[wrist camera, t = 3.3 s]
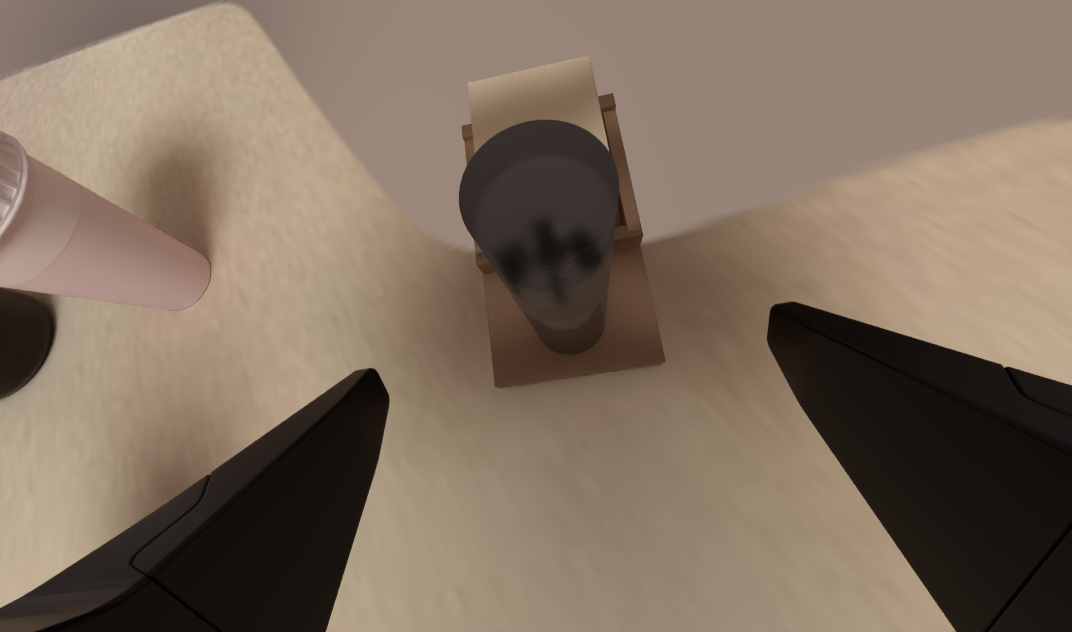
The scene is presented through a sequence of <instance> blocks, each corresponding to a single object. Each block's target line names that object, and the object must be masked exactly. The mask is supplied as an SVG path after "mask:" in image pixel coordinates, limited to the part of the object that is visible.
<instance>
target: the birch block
mask: <svg viewBox="0 0 1072 632" xmlns="http://www.w3.org/2000/svg"><path fill="white" fill-rule="evenodd" d="M467 84H468V93H469V103H470V113H471V122H472V132H473V141H474V151H475V153H476V152H477V150H478V149H479V148H480V147H481V146H482V145H483V144H484V143H485V142H487V141H488V140H489V139H490V138H491V137H493V136H494V135H496V134H497V133H499V132H501V131H503V130H505V129H507V128H509V127H511V126H514V125H516V124H519V123H523V122H527V121H533V120H546V119H547V120H559V121H564V122H568V123H571V124H575V125H577V126H579V127H581V128H584V129H585V130H587V131H589V132H590V133H592V134H593V135H594V136H596V137H597V138H598V139H599V140H600V141H601V142H602V143H603V144H604V145H605V146H606V148H607V149H608V151H609V148H608V143H607V138H606V133H605V129H604V124H603V119H602V114H601V109H600V105H599V100H598V95H597V90H596V86H595V81H594V76H593V71H592V67H591V62H590V57H589V55H587V56H583V57H578V58H574V59H570V60H565V61H561V62H556V63H552V64H548V65H544V66H539V67H534V68H530V69H526V70H521V71H517V72H513V73H508V74H504V75H500V76H495V77H491V78H486V79H482V80H477V81H473V82H469V83H467Z"/></svg>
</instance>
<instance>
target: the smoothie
mask: <svg viewBox="0 0 1072 632" xmlns="http://www.w3.org/2000/svg"><path fill="white" fill-rule="evenodd" d="M210 274H211V271H210V265H209V262H208V260H207V259H206V258H205V257H204V256H203V255H202V254H200V253H199V252H197V251H195V250H193V249H192V248H190V247H188V246H186V245H185V244H183V243H181V242H179V241H178V240H176V239H174V238H172V237H171V236H169V235H167V234H165V233H164V232H162V231H160V230H159V229H157V228H155V227H153V226H152V225H150V224H148V223H146V222H145V221H143V220H141V219H139V218H138V217H136V216H134V215H132V214H131V213H129V212H127V211H125V210H124V209H122V208H120V207H118V206H117V205H115V204H113V203H111V202H110V201H108V200H106V199H104V198H103V197H101V196H99V195H98V194H96V193H94V192H92V191H91V190H89V189H87V188H85V187H84V186H82V185H80V184H78V183H77V182H75V181H73V180H71V179H70V178H68V177H67V176H65V175H63V174H61V173H60V172H58V171H56V170H54V169H52V168H51V167H49V166H47V165H45V164H44V163H42V162H40V161H38V160H36V159H35V158H33V157H31V156H29V155H27V154H26V151H25V149H24V148H23V147H22V145H21V144H20V143H19V142H18V141H17V139H16V138H14V137H12V136H10V135H8V134H6V133H4V132H2V131H0V287H4V288H11V289H18V290H25V291H33V292H40V293H47V294H54V295H62V296H69V297H76V298H83V299H91V300H98V301H105V302H112V303H120V304H127V305H134V306H141V307H149V308H156V309H163V310H170V311H178V310H182V309H185V308H187V307H189V306H191V305H192V304H194V303H195V302H196V301H197V300H198V299H199V298H200V297H201V296H202V295H203V293H204V292H205V290H206V288H207V286H208V283H209V280H210Z"/></svg>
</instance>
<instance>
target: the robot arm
mask: <svg viewBox="0 0 1072 632" xmlns="http://www.w3.org/2000/svg"><path fill="white" fill-rule="evenodd" d="M767 342H768V345H769V348H770V350H771V352H772V354H773V356H774V357H775V359H776V361H777V363H778V365H779V367H780V369H781V371H782V373H783V374H784V376H785V378H786V380H787V382H788V384H789V386H790V388H791V390H792V392H793V393H794V395H795V397H796V399H797V401H798V402H799V404H800V406H801V407H802V409H803V410H804V412H805V413H806V415H807V416H808V418H809V419H810V421H811V422H812V424H813V425H814V426H815V428H816V429H817V431H818V432H819V434H820V435H821V437H822V438H823V439H824V441H825V442H826V444H827V445H828V447H829V448H830V450H831V451H832V453H833V454H834V455H835V457H836V458H837V460H838V461H839V463H840V464H841V466H842V467H843V468H844V470H845V471H846V473H847V474H848V476H849V477H850V479H851V480H852V481H853V483H854V484H855V486H856V487H857V489H858V490H859V492H860V493H861V495H862V496H863V497H864V499H865V500H866V502H867V503H868V505H869V506H870V508H871V509H872V510H873V512H874V513H875V515H876V516H877V518H878V519H879V521H880V522H881V524H882V525H883V526H884V528H885V529H886V531H887V532H888V534H889V535H890V537H891V538H892V539H893V541H894V542H895V544H896V545H897V547H898V548H899V550H900V551H901V552H902V554H903V555H904V557H905V558H906V560H907V561H908V563H909V564H910V566H911V567H912V568H913V570H914V571H915V573H916V574H917V576H918V577H919V579H920V580H921V581H922V583H923V584H924V586H925V587H926V589H927V590H928V592H929V593H930V594H931V596H932V597H933V599H934V600H935V602H936V603H937V605H938V606H939V608H940V609H941V610H942V612H943V613H944V615H945V616H946V618H947V619H948V621H949V622H950V623H951V625H952V626H953V628H954V629H955V631H956V632H1072V385H1069V384H1065V383H1062V382H1058V381H1055V380H1051V379H1048V378H1045V377H1041V376H1038V375H1034V374H1031V373H1028V372H1025V371H1021V370H1018V369H1015V368H1012V367H1005V368H1004V367H1003V366H1002V365H1001V364H998V363H995V362H991V361H988V360H985V359H982V358H978V357H975V356H972V355H968V354H965V353H962V352H958V351H955V350H952V349H949V348H945V347H942V346H939V345H935V344H932V343H929V342H925V341H922V340H919V339H916V338H912V337H909V336H906V335H902V334H899V333H896V332H893V331H889V330H886V329H883V328H879V327H876V326H873V325H870V324H866V323H863V322H860V321H856V320H853V319H850V318H846V317H843V316H840V315H837V314H833V313H830V312H827V311H823V310H820V309H817V308H814V307H810V306H807V305H804V304H800V303H797V302H786V303H780V304H775V305H773V306H772V307H771V310H770V315H769V324H768V332H767ZM388 409H389V394H388V392H387V390H386V388H385V386H384V384H383V382H382V380H381V378H380V376H379V374H378V372H377V371H376V370H375V369H373V368H367V369H361V370H357V371H355V372H353V373H352V374H350V375H349V376H347V377H346V378H345V379H343V380H342V381H340V382H339V383H337V384H336V385H335V386H333V387H332V388H330V389H329V390H327V391H326V392H325V393H323V394H322V395H320V396H319V397H318V398H316V399H315V400H313V401H312V402H310V403H309V404H308V405H306V406H305V407H303V408H302V409H300V410H299V411H298V412H296V413H295V414H293V415H292V416H290V417H289V418H288V419H286V420H285V421H283V422H282V423H281V424H279V425H278V426H276V427H275V428H273V429H272V430H271V431H269V432H268V433H266V434H265V435H263V436H262V437H261V438H259V439H258V440H256V441H255V442H254V443H252V444H251V445H249V446H248V447H246V448H245V449H244V450H242V451H241V452H239V453H238V454H236V455H235V456H234V457H232V458H231V459H229V460H228V461H226V462H225V463H224V464H222V465H221V466H219V467H218V468H217V469H215V470H214V471H212V473H211V475H210V474H209V475H206V476H205V477H204V478H202V479H201V480H199V481H198V482H196V483H195V484H194V485H192V486H191V487H189V488H188V489H186V490H185V491H184V492H182V493H181V494H179V495H178V496H176V497H175V498H173V499H172V500H170V501H169V502H168V503H166V504H165V505H163V506H162V507H160V508H159V509H157V510H156V511H154V512H153V513H151V514H150V515H148V516H147V517H145V518H144V519H142V520H141V521H139V522H138V523H136V524H134V525H133V526H131V527H130V528H128V529H127V530H125V531H124V532H122V533H121V534H119V535H118V536H116V537H115V538H113V539H111V540H110V541H108V542H107V543H105V544H104V545H102V546H101V547H99V548H98V549H96V550H94V551H93V552H91V553H90V554H88V555H87V556H85V557H84V558H82V559H80V560H79V561H77V562H76V563H74V564H73V565H71V566H70V567H68V568H67V569H65V570H63V571H62V572H60V573H59V574H57V575H56V576H54V577H53V578H51V579H50V580H48V581H46V582H45V583H43V584H42V585H40V586H39V587H37V588H35V589H34V590H32V591H31V592H29V593H27V594H26V595H24V596H22V597H21V598H19V599H17V600H15V601H13V602H11V603H9V604H7V605H5V606H3V607H1V608H0V632H326V629H327V626H328V623H329V620H330V616H331V613H332V610H333V607H334V603H335V600H336V597H337V594H338V590H339V587H340V584H341V581H342V577H343V574H344V571H345V568H346V564H347V561H348V558H349V555H350V551H351V548H352V545H353V542H354V538H355V535H356V532H357V529H358V525H359V522H360V519H361V516H362V513H363V509H364V506H365V503H366V500H367V496H368V493H369V490H370V487H371V483H372V480H373V477H374V474H375V470H376V467H377V463H378V459H379V455H380V450H381V445H382V440H383V435H384V429H385V424H386V419H387V414H388Z"/></svg>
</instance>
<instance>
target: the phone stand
mask: <svg viewBox="0 0 1072 632" xmlns="http://www.w3.org/2000/svg"><path fill="white" fill-rule="evenodd" d="M598 100H599V105H600V109H601V114H602V119H603V124H604V129H605V133H606V138H607V143H608V148H609V151H608V149H607V148H606V146H605V145H604V144H603V143H602V142H601V141H600V140H599V139H598V138H597V137H596V136H594V135H593V134H592V133H590V132H589V131H587V130H585V129H584V128H581V127H579V126H577V125H575V124H571V123H568V122H564V121H559V120H547V119H546V120H533V121H527V122H523V123H519V124H516V125H514V126H511V127H509V128H507V129H505V130H503V131H501V132H499V133H497V134H496V135H494V136H493V137H491V138H490V139H489V140H488V141H487V142H485V143H484V144H483V145H482V146H481V147H480V148H479V149H478V150H477V152H476V153H475V151H474V141H473V132H472V124H469V125H465V126H462V134H463V139H464V141H465V149H466V159H467V167H466V169H465V172H464V174H463V177H462V180H461V184H460V190H459V206H460V212H461V215H462V218H463V221H464V224H465V225H466V227H467V230H468V231H469V233H470V234H471V236H472V237H473V239H474V240H475V252H476V262H477V266H478V267H479V268H480V270H481V271H482V272H483V274H484V282H485V292H486V302H487V312H488V321H489V331H490V341H491V351H492V361H493V370H494V380H495V387H498V388H504V387H511V386H518V385H524V384H531V383H538V382H545V381H552V380H558V379H565V378H572V377H579V376H586V375H592V374H599V373H606V372H613V371H620V370H627V369H633V368H640V367H647V366H654V365H661V364H663V363H664V362H665V358H664V354H663V349H662V344H661V340H660V335H659V331H658V326H657V321H656V317H655V312H654V308H653V303H652V298H651V294H650V289H649V285H648V280H647V275H646V271H645V266H644V262H643V257H642V252H641V248H640V245H641V241H642V237H643V233H642V228H641V223H640V219H639V214H638V210H637V205H636V201H635V196H634V192H633V187H632V183H631V178H630V174H629V169H628V165H627V161H626V156H625V151H624V147H623V142H622V138H621V133H620V130H619V124H618V120H617V115H616V110H615V107H616V105H615V100H614V96H613V93H612V94H608V95H603V96H599V97H598Z"/></svg>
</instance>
